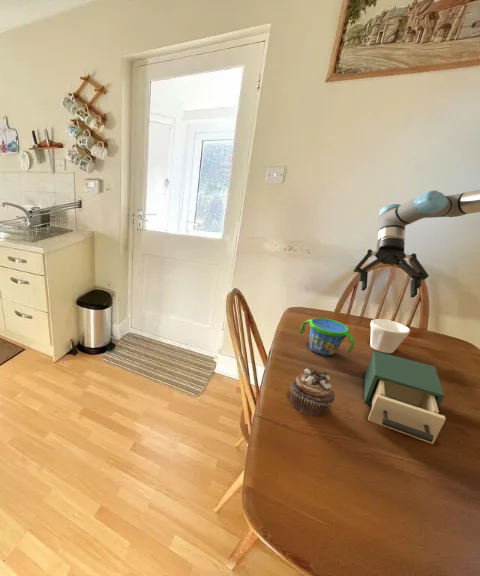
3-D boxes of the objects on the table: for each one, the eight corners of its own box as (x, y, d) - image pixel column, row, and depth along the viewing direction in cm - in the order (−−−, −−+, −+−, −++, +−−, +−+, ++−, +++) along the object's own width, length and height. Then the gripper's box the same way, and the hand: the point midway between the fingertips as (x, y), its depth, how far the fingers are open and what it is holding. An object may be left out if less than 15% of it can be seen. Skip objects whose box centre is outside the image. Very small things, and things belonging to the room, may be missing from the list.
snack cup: (355, 358, 103) (365, 331, 100) (336, 366, 99) (345, 339, 95) (308, 337, 117) (315, 312, 113) (290, 343, 112) (296, 318, 109)
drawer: (436, 459, 67) (450, 433, 64) (367, 433, 74) (377, 408, 71) (425, 410, 80) (436, 387, 77) (368, 391, 87) (376, 369, 84)
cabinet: (429, 425, 77) (444, 395, 73) (364, 402, 84) (374, 374, 81) (422, 393, 87) (435, 366, 84) (364, 376, 95) (374, 350, 91)
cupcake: (284, 390, 89) (291, 360, 86) (324, 398, 86) (333, 367, 82) (290, 413, 81) (298, 381, 77) (334, 423, 78) (345, 390, 74)
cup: (404, 350, 107) (414, 327, 104) (395, 360, 102) (405, 335, 99) (368, 338, 115) (376, 316, 112) (358, 347, 110) (366, 323, 106)
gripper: (430, 251, 115) (430, 303, 108) (346, 244, 126) (341, 290, 120) (441, 239, 109) (442, 294, 102) (352, 233, 120) (348, 281, 113)
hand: (388, 292), depth 111 cm, fingers open, 13 cm apart
